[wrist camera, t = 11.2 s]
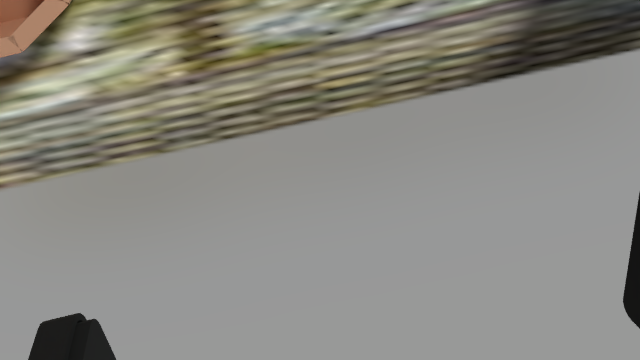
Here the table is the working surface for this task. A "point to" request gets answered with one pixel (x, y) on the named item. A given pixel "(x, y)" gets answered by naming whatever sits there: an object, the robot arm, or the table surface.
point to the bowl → (25, 22)
